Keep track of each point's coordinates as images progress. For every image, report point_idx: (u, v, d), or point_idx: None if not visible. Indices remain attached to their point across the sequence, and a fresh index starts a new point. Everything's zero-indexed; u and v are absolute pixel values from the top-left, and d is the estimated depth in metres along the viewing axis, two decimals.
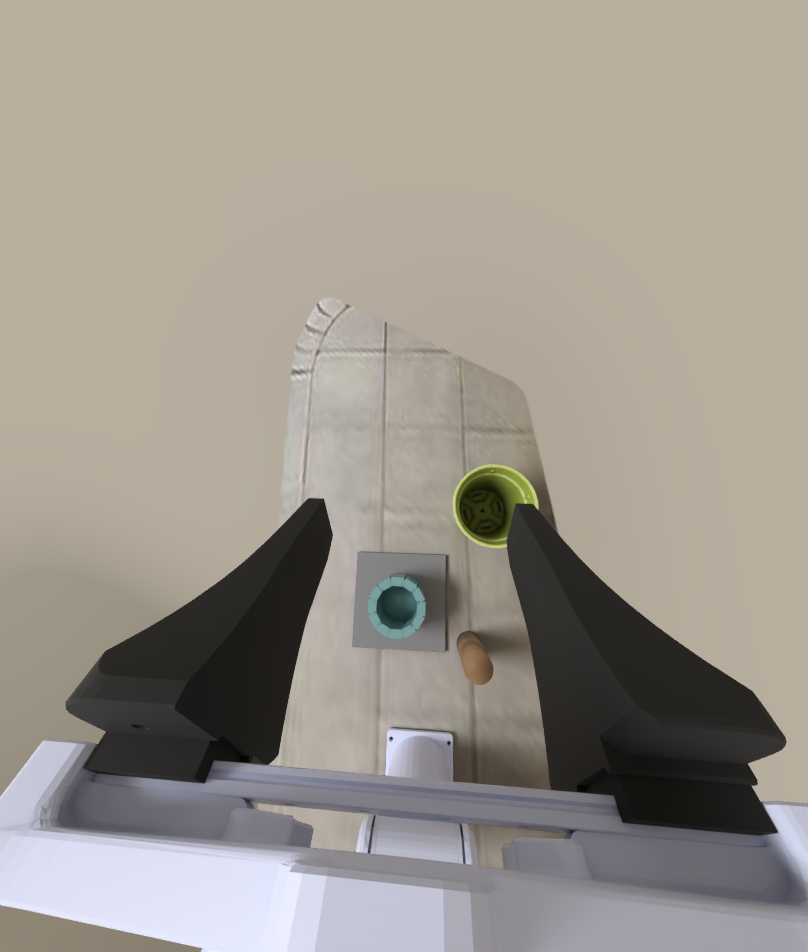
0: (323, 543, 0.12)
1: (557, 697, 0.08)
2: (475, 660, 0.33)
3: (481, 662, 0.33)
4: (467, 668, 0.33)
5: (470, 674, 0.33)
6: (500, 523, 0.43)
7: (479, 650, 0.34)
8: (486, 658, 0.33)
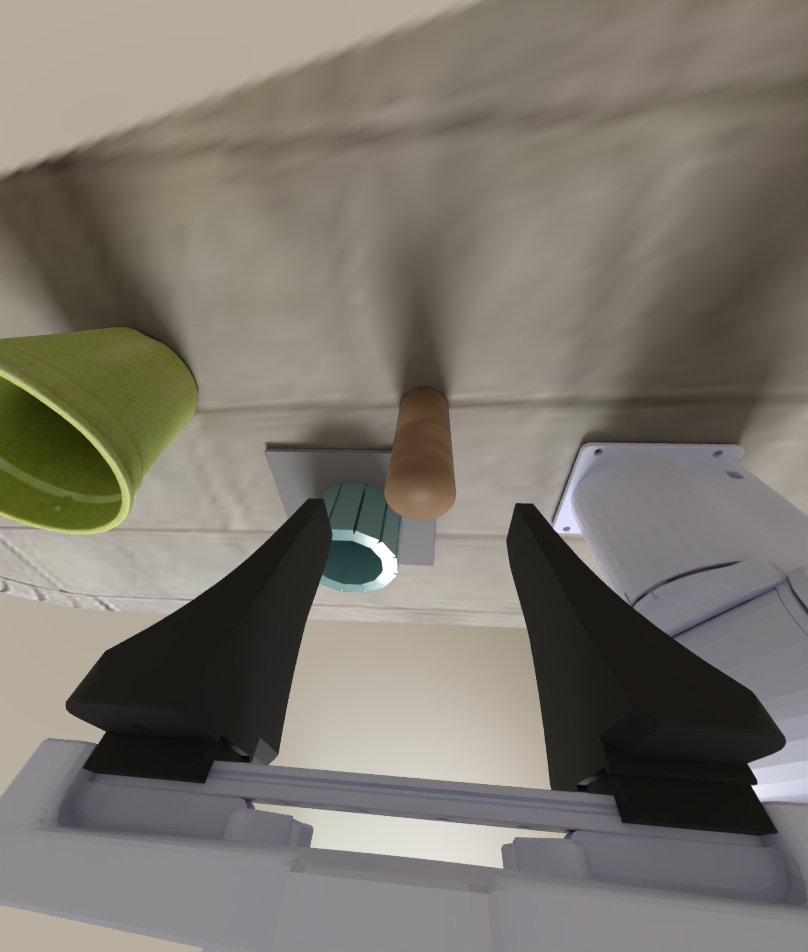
0: (323, 543, 0.12)
1: (557, 697, 0.08)
2: (401, 499, 0.14)
3: (405, 488, 0.13)
4: (421, 514, 0.14)
5: (433, 509, 0.14)
6: (148, 341, 0.18)
7: (387, 475, 0.14)
8: (394, 479, 0.13)
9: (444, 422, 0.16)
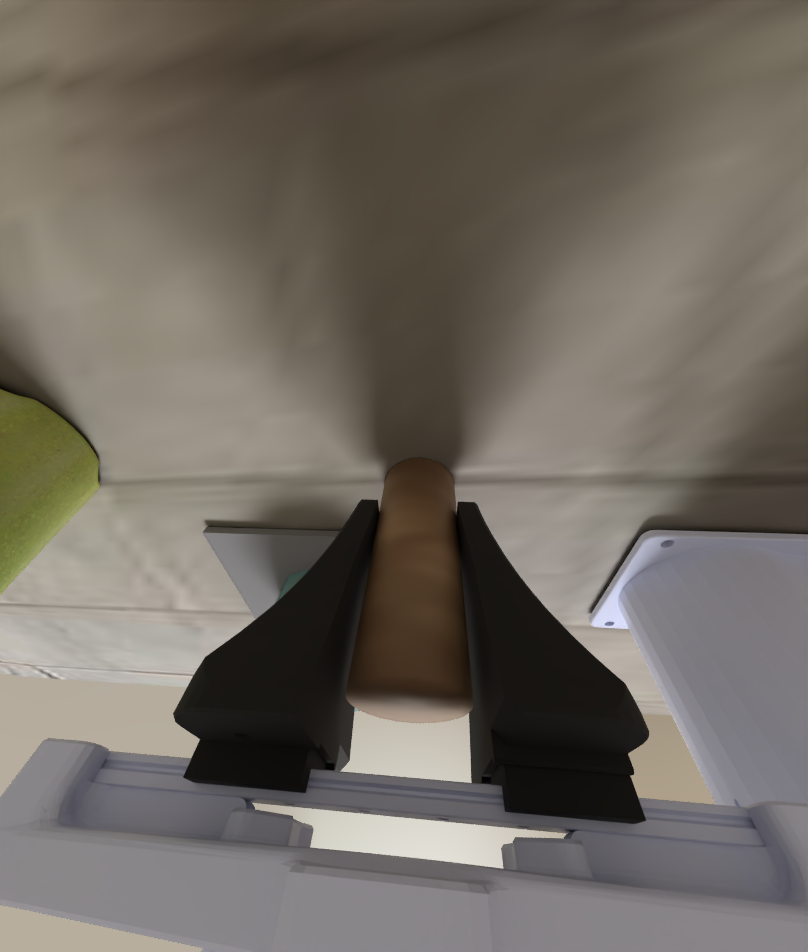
0: None
1: (475, 691, 0.08)
2: (377, 704, 0.08)
3: (381, 695, 0.07)
4: (412, 719, 0.08)
5: (432, 716, 0.08)
6: (6, 397, 0.12)
7: (353, 652, 0.08)
8: (361, 687, 0.07)
9: (450, 529, 0.10)
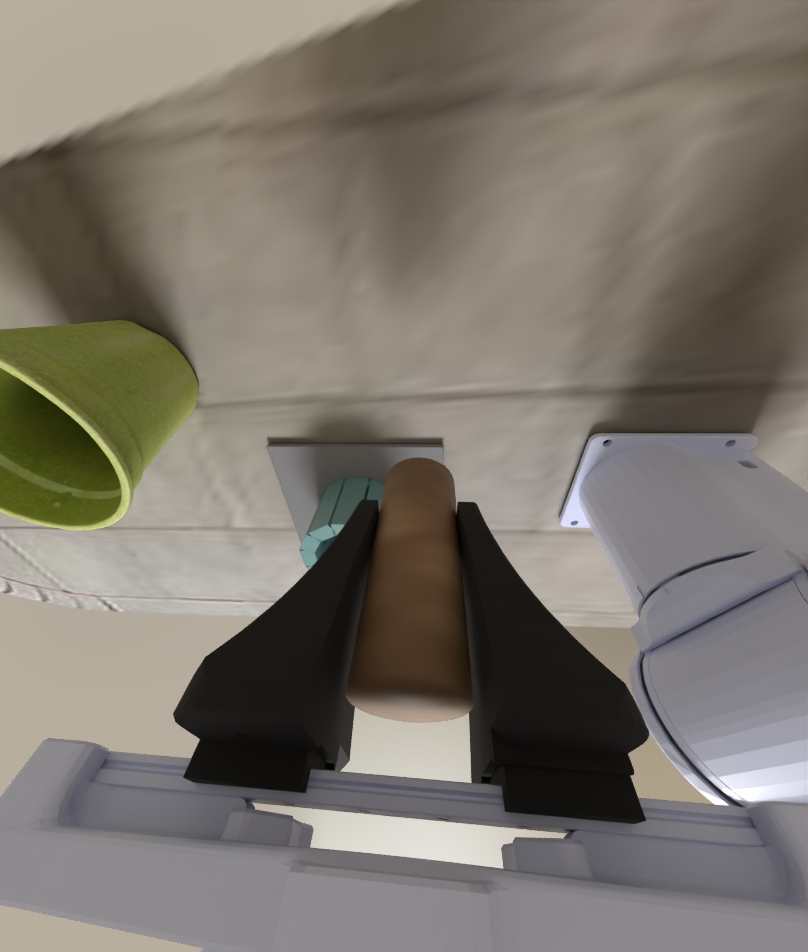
0: None
1: (475, 691, 0.08)
2: (377, 704, 0.08)
3: (382, 695, 0.07)
4: (412, 717, 0.08)
5: (432, 715, 0.08)
6: (147, 334, 0.17)
7: (353, 652, 0.08)
8: (361, 686, 0.07)
9: (450, 529, 0.10)
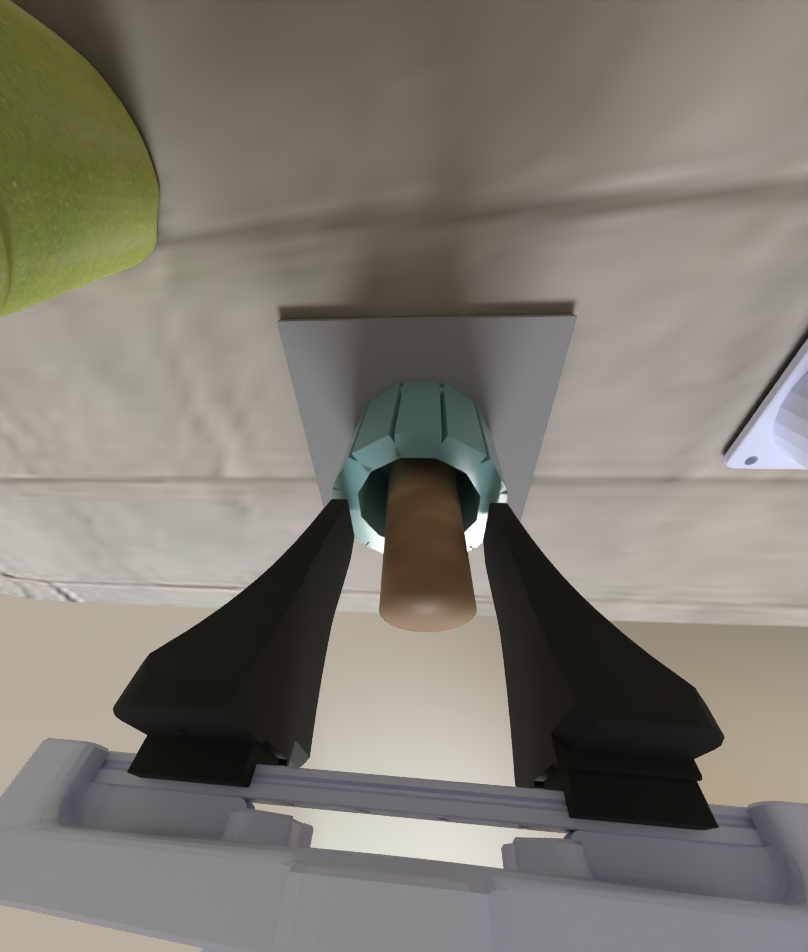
0: (347, 544, 0.12)
1: (520, 694, 0.08)
2: (403, 616, 0.10)
3: (407, 607, 0.10)
4: (429, 627, 0.11)
5: (444, 623, 0.10)
6: None
7: (381, 580, 0.10)
8: (392, 600, 0.09)
9: (451, 486, 0.12)
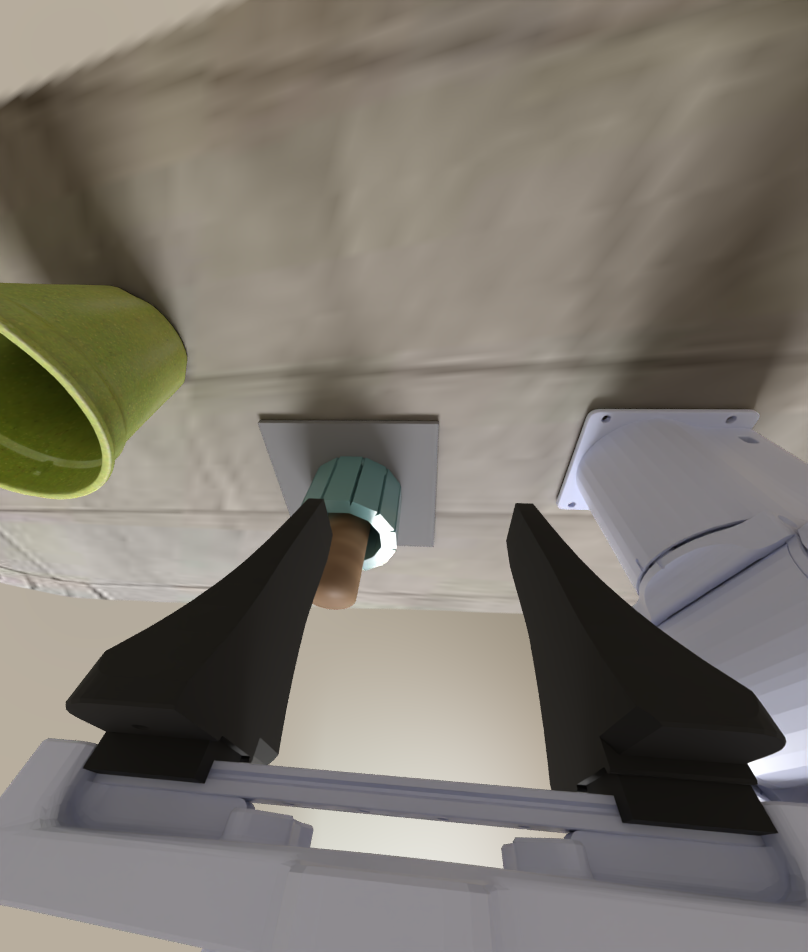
0: (323, 543, 0.12)
1: (557, 697, 0.08)
2: (316, 597, 0.18)
3: (317, 591, 0.17)
4: (334, 606, 0.18)
5: (342, 603, 0.18)
6: None
7: None
8: None
9: (360, 522, 0.20)
